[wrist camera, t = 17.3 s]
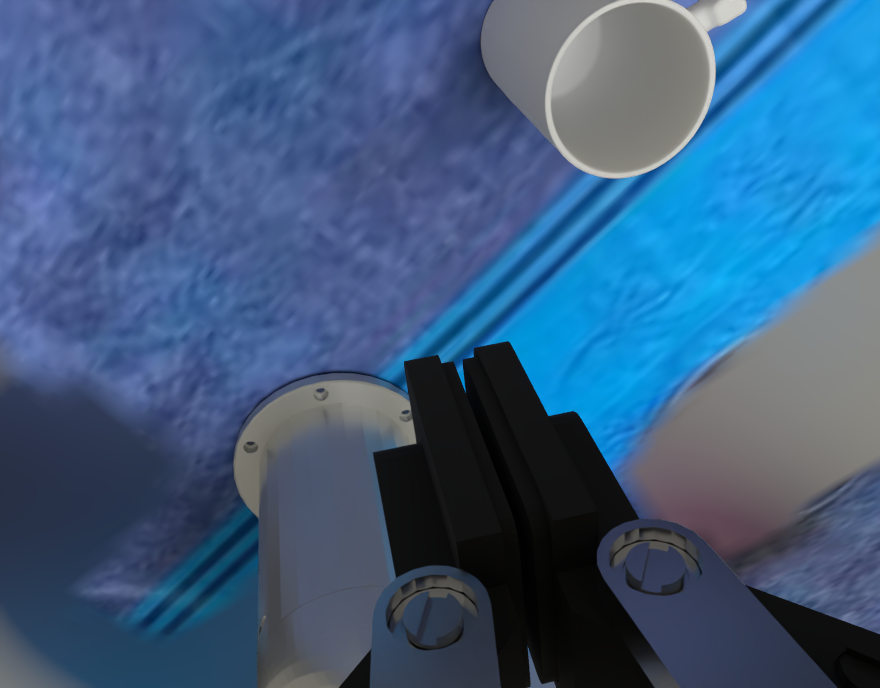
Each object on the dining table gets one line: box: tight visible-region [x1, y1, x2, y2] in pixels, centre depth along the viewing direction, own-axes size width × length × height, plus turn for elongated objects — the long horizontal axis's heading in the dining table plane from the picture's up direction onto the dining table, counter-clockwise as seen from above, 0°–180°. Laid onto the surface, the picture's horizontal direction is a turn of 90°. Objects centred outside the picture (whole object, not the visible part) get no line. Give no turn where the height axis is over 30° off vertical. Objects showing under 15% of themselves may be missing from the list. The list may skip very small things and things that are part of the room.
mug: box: [481, 0, 747, 178], centre depth 35 cm, size 10×7×12 cm, turn 123°
